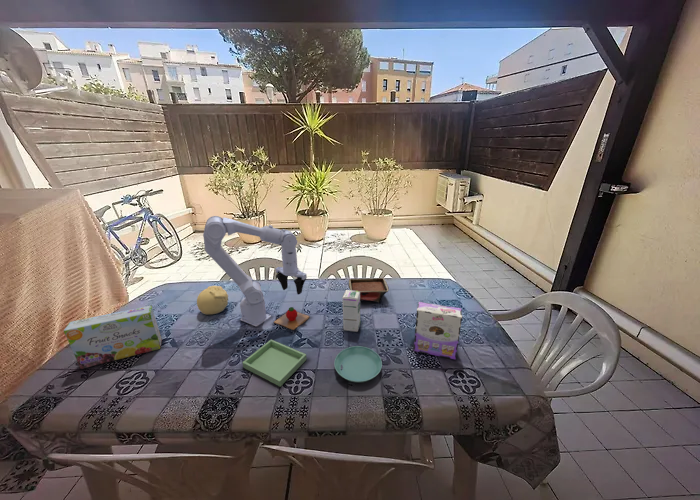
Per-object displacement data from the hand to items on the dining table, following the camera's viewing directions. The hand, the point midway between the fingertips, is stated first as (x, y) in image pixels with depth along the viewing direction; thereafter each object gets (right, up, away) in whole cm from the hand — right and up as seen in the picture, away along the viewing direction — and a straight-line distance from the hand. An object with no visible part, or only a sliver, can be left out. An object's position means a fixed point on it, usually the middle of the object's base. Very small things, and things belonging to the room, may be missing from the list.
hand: (292, 291), depth 112 cm
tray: (0, -19, -26) cm, 32 cm away
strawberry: (+1, -10, -4) cm, 11 cm away
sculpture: (-34, -9, +4) cm, 35 cm away
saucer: (+26, -20, -27) cm, 43 cm away
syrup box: (+25, -13, -7) cm, 29 cm away
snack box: (-52, -18, -21) cm, 59 cm away
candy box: (+53, -17, -20) cm, 59 cm away
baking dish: (+32, -5, +13) cm, 35 cm away
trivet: (+1, -11, -3) cm, 12 cm away
